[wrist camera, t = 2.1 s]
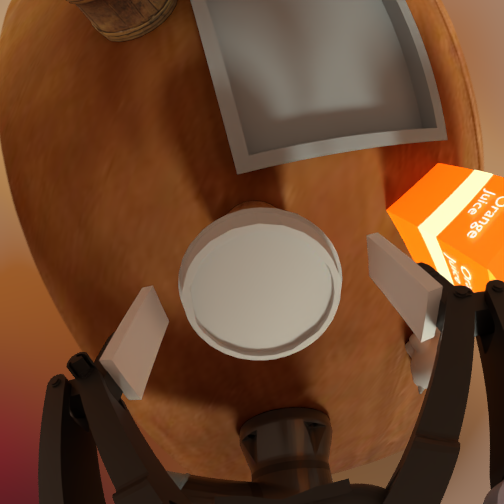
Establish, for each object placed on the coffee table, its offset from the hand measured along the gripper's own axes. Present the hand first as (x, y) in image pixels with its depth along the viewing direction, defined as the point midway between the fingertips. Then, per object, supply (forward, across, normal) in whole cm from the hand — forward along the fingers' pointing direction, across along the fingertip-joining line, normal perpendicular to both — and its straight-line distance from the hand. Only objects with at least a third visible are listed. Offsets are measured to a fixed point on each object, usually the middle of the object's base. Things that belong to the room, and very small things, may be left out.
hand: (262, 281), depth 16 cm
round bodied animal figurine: (+10, -19, +23) cm, 31 cm away
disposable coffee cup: (+11, 0, 0) cm, 11 cm away
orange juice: (+11, -19, +2) cm, 22 cm away
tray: (+11, -10, -16) cm, 21 cm away
